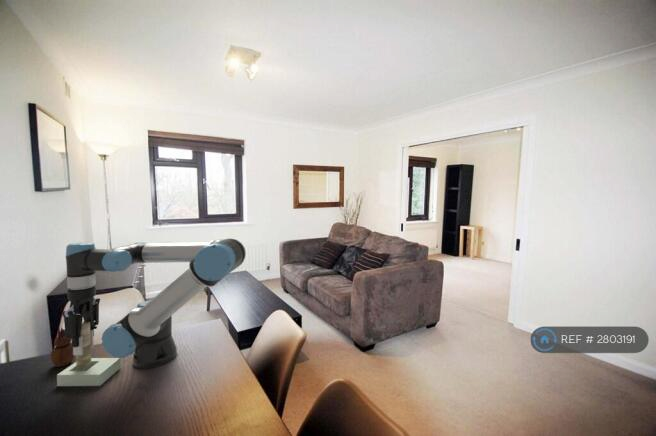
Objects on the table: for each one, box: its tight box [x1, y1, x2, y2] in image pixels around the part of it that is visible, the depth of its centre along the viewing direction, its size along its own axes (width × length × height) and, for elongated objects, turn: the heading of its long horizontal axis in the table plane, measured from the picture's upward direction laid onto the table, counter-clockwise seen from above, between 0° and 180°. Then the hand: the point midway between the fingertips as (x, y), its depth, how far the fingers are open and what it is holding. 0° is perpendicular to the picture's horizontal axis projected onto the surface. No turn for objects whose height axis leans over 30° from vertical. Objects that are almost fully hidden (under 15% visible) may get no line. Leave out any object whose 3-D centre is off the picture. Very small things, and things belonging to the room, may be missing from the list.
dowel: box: [75, 321, 92, 368], centre depth 99 cm, size 4×4×15 cm
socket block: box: [56, 357, 121, 387], centre depth 100 cm, size 14×10×4 cm
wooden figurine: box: [50, 327, 76, 368], centre depth 106 cm, size 7×6×15 cm
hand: (83, 350), depth 99 cm, fingers closed on dowel, 4 cm apart
